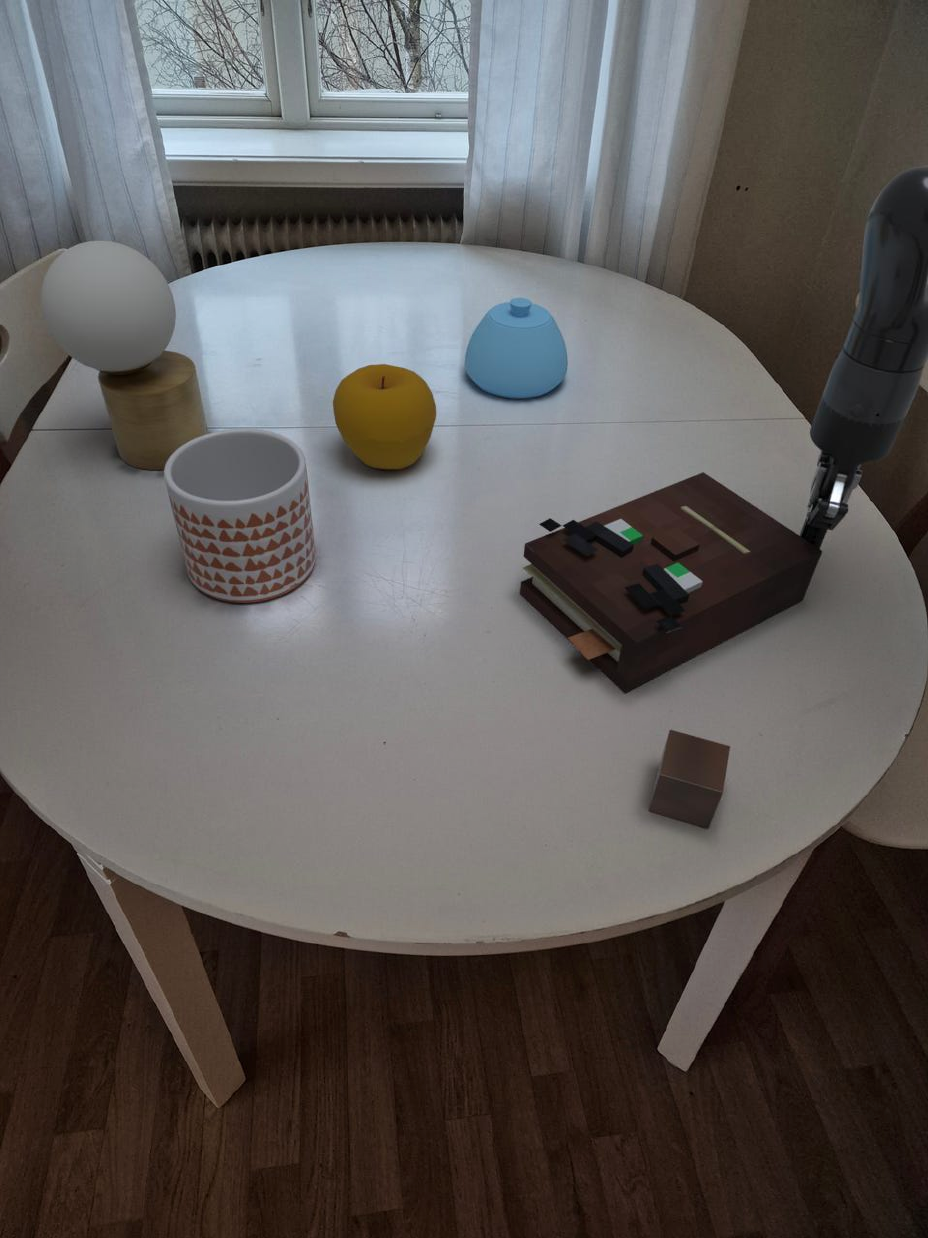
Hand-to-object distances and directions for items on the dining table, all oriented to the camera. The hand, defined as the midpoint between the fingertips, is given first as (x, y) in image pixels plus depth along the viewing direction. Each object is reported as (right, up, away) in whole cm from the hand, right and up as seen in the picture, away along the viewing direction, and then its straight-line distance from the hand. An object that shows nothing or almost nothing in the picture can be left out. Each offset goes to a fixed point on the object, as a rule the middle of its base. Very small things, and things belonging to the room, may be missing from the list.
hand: (808, 545), depth 91 cm
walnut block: (-18, -23, -18) cm, 34 cm away
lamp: (-77, +14, +19) cm, 80 cm away
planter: (-60, -2, +2) cm, 60 cm away
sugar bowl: (-29, +28, +36) cm, 54 cm away
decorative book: (-16, -6, 0) cm, 16 cm away
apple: (-47, +13, +19) cm, 52 cm away
